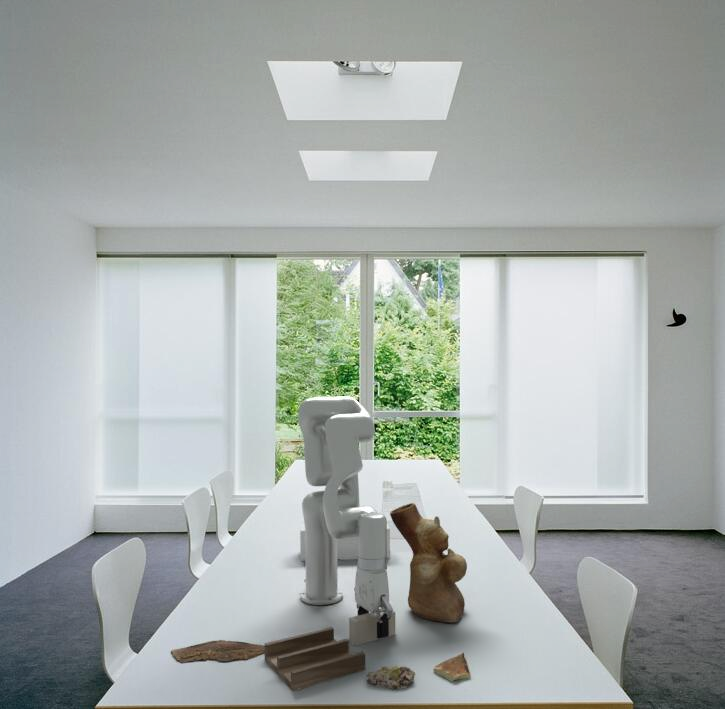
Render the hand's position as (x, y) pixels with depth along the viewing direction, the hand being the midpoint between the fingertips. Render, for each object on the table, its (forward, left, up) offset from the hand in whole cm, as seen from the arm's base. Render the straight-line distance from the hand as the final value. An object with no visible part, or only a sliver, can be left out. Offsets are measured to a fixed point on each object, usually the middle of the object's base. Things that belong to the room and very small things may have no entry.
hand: (372, 630), depth 160 cm
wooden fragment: (-12, -35, -3) cm, 37 cm away
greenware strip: (0, 0, -2) cm, 2 cm away
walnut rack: (+5, -19, -2) cm, 20 cm away
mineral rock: (+20, -8, -3) cm, 22 cm away
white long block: (-64, +27, -2) cm, 70 cm away
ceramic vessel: (-6, +22, -2) cm, 23 cm away
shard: (+23, +7, -3) cm, 24 cm away
